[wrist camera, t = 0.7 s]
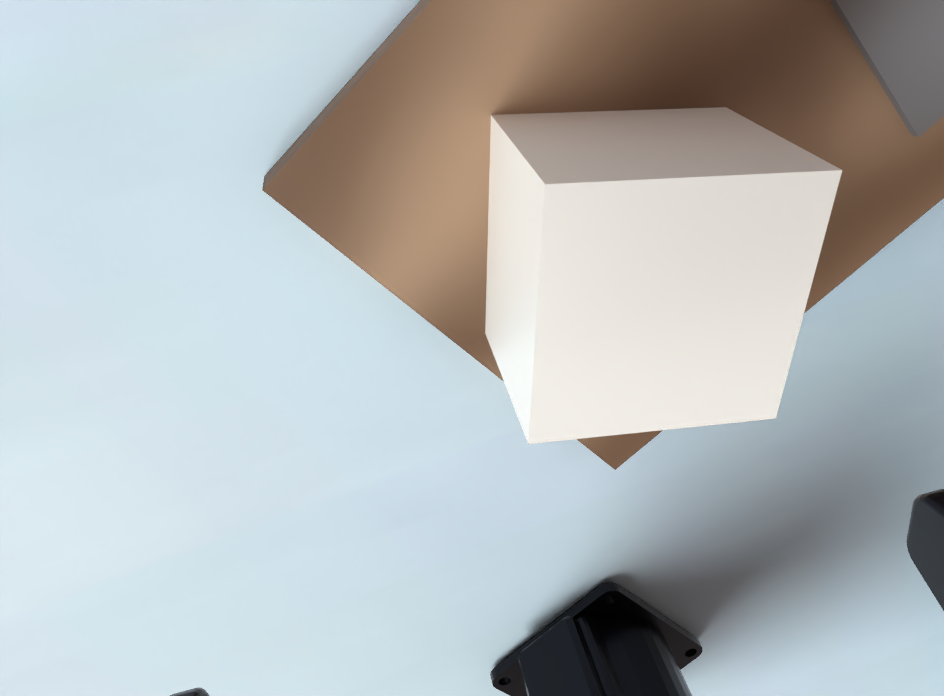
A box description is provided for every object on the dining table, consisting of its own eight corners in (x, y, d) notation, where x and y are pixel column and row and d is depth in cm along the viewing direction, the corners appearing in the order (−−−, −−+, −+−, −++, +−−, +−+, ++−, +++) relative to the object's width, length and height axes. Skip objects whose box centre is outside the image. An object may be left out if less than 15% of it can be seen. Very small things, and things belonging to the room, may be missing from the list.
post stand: (1232, -76, 20) (1427, -68, 17) (605, 450, 26) (652, 541, 22) (1060, -722, 14) (1326, -935, 10) (264, 176, 19) (254, 243, 16)
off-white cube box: (725, 107, 19) (842, 170, 15) (687, 317, 22) (775, 418, 18) (490, 114, 18) (545, 184, 14) (485, 333, 21) (527, 444, 17)
